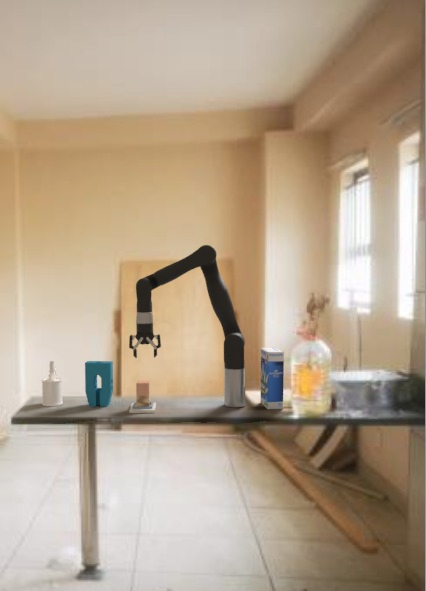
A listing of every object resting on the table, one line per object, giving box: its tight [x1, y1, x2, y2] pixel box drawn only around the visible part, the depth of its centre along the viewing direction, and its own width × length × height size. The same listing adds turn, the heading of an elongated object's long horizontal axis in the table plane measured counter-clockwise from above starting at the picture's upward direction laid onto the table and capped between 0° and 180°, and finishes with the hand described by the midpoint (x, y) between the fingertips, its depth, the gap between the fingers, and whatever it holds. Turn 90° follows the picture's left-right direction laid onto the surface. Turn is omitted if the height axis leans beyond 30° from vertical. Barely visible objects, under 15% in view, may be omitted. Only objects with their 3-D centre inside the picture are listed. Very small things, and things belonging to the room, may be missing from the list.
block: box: [84, 360, 114, 408], centre depth 239 cm, size 12×5×20 cm, turn 85°
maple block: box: [135, 392, 151, 407], centre depth 233 cm, size 6×6×6 cm
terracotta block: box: [135, 380, 151, 396], centre depth 232 cm, size 6×6×6 cm
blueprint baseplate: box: [128, 401, 157, 414], centre depth 233 cm, size 11×13×2 cm
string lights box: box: [260, 347, 285, 410], centre depth 238 cm, size 13×8×26 cm, turn 10°
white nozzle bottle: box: [41, 360, 64, 408], centre depth 241 cm, size 10×9×20 cm
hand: (145, 357), depth 237 cm, fingers open, 8 cm apart
